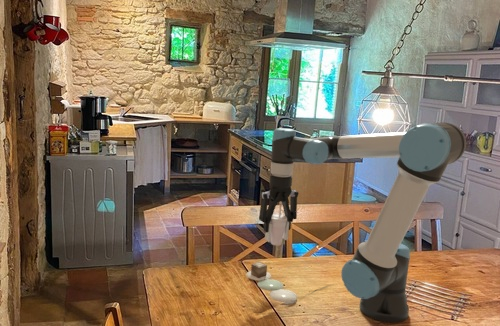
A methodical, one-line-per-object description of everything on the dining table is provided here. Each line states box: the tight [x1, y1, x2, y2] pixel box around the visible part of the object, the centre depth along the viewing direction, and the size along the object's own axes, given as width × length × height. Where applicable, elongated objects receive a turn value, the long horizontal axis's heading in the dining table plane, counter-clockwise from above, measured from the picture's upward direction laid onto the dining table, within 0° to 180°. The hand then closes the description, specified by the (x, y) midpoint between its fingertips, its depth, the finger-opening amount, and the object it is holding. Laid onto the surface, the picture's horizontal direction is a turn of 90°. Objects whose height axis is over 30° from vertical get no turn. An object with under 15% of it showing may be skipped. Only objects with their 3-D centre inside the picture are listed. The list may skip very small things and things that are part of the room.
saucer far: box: [245, 270, 272, 282], centre depth 168 cm, size 9×9×1 cm
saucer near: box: [269, 288, 298, 306], centre depth 153 cm, size 9×9×1 cm
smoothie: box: [270, 203, 287, 246], centre depth 158 cm, size 6×6×14 cm
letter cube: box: [250, 261, 268, 278], centre depth 168 cm, size 4×4×4 cm
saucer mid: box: [257, 278, 284, 292], centre depth 161 cm, size 9×9×1 cm
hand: (276, 239), depth 159 cm, fingers closed on smoothie, 6 cm apart
